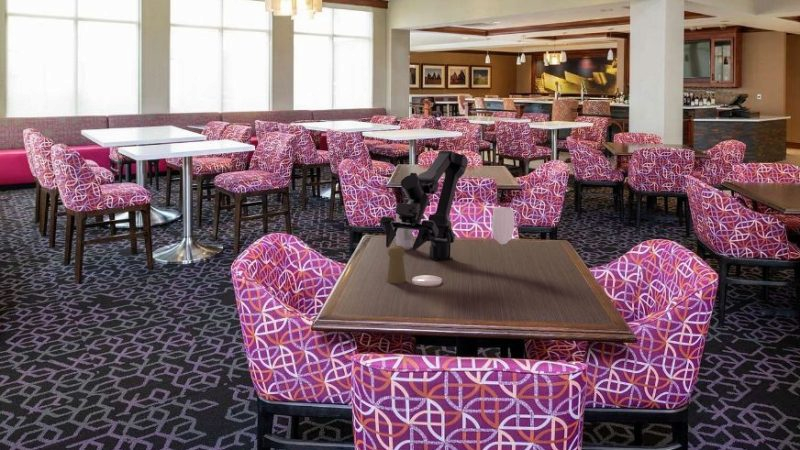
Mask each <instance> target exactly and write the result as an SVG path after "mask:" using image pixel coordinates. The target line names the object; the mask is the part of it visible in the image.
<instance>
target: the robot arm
mask: <svg viewBox="0 0 800 450" xmlns="http://www.w3.org/2000/svg"><path fill="white" fill-rule="evenodd" d="M437 154H438V155H437V156H436V158H435V159H434V160H433V162H432V163H431V165H430V166H429V167H428V169H427V170H426V171H424V172H421V173H419V174H417V173H416V172H410V173H409V175H407V176H404V178H402V179H401V181H400V186H401V189H402V190H403V193H404V194H405V196H406V198H407V199H409V203H402V202H401V203H400V202H398V203H397V204H396V208H395V215H396V214H399V219H401V220H402V221H401V222H398V221H396V219H395V218H394V216H389V215H388V216H387V215H383V216H381V218H380V219H379V221H378V222H379V224H380V226H381V228H382V230H383V231H384V232H385V237H386V238H385V247H386V248H387V249H389V247H391V244H392V243H393V241H394V239H395V238H396V232H397V229H398V228H403V229H409V230H412V231H418V234H417V235H416V238H415V240H414V243H413V244H412V247H411V249H412V251H413V252H415V251H416V250H418V249H419V248H420V247H421V246H422V245H424V244H425V243H426V242H430V245H429V255H428V256H427V257H428V258H429V259H432V260H434V261H437V262H438V261H439V262H440V261H448V260H453V259H454V258H453V257H452V256H451V244H452V243H453V244H454V242H455V240H456V234H455V233H454V231H453V228H452V226H453V223H452V221H451V219H450V214H451V210H452V207H453V203H454V202H453V201H454V197H455V194H456V189H457V185H458V182H459V181H458V180H459V179H460V178H461V177H462V176H464V174H465V171H466V169H467V167H468V165H469V160H468V157H466V155H465V154H461V153H457V152H455V151H453V150H445V149H442V150H439V151H438V153H437ZM443 174H444V178H443V179H444V180H443V182H442V187H441V190H440V193H439V198H438V201H437V202H438V203H437V206H436V210H435V212H434V213H433V214H432V213H430V214H429V216H428V219H425V215H424V214H425V212H426V209H427V207H430V206H431V201H430V198H429V196H428V195H435V194H436V193H437V191H438V190H439V187H440V183H439V180H440V179H441V177H442V176H443Z"/></svg>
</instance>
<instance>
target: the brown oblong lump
mask: <svg viewBox="0 0 800 450" xmlns="http://www.w3.org/2000/svg"><path fill="white" fill-rule="evenodd" d="M387 249H388V251H387V254H388V256H389V260H388V268H387V276H386V282H387V283H390V284H404V283H406V282H407V277H406V268H405V262H404V261H405V260H404V256H405V254H406V253H405V252H406V250H405V249H404V247H402V246H396V245H392V246H391V245H390V246H389V247H388V248H387Z"/></svg>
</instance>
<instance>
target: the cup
mask: <svg viewBox="0 0 800 450" xmlns="http://www.w3.org/2000/svg"><path fill="white" fill-rule="evenodd" d="M491 217H492V220H491V229H492V235H493V238H494V240H495V241H496V242H497V243H498V244H500V245H505V244H508V242H509V241H511V240H512V237H513V235H514V230H515V213H514V208H513V207H508V206H496V207H493V213H492V216H491Z"/></svg>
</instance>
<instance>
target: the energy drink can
mask: <svg viewBox="0 0 800 450" xmlns="http://www.w3.org/2000/svg"><path fill="white" fill-rule="evenodd" d="M395 217H396V219H395V221H398V222H401V221H402V220H401V219H399V214H396V213H395ZM395 233H396V235H395V244H396V245H395V246H402V247H404V249H405V251H406V250H407V251H408V250H411V249H412V248H413V230H409V229H403V228H398V229H397V232H395Z"/></svg>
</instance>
